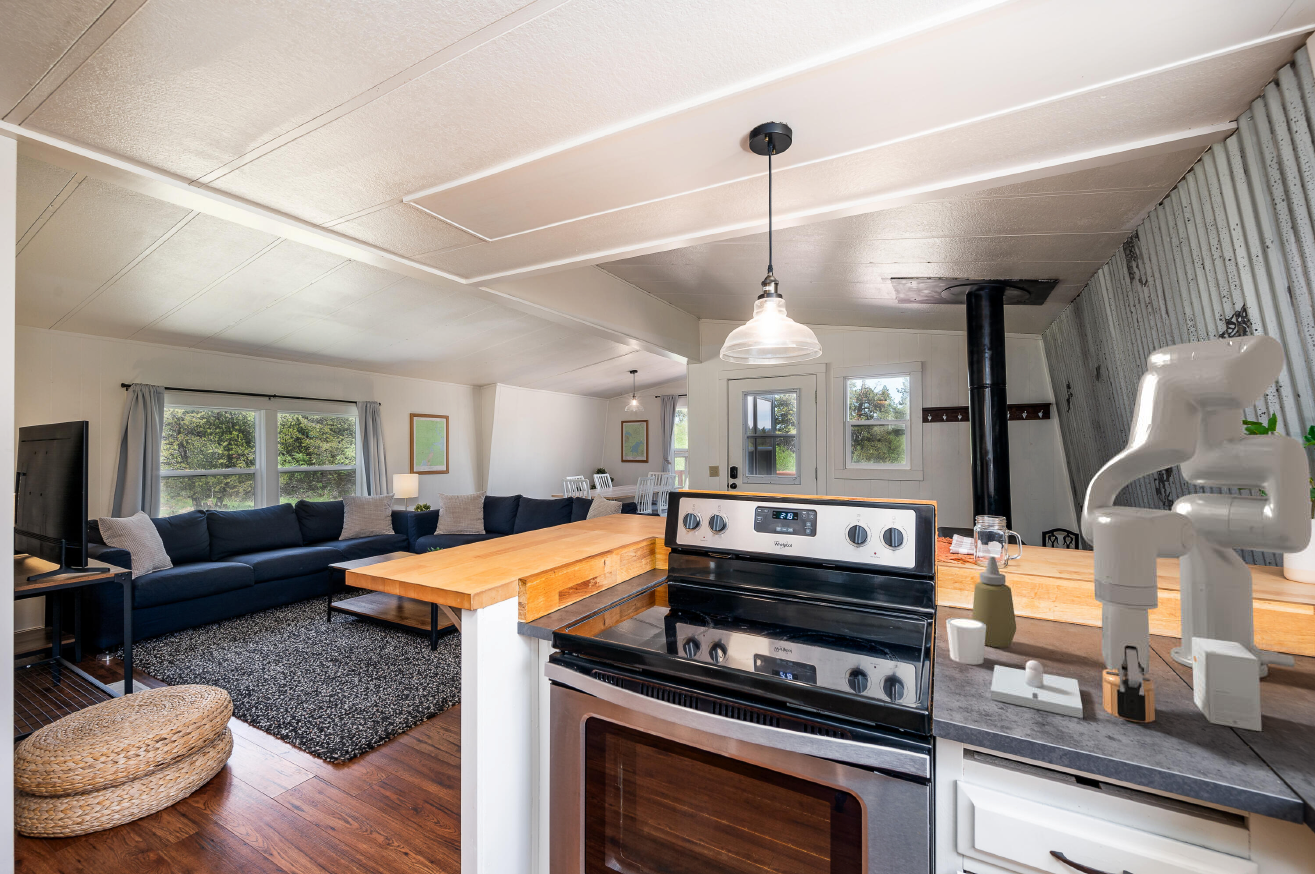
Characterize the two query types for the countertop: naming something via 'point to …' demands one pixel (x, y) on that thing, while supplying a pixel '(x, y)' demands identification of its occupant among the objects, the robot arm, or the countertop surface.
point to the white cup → (966, 640)
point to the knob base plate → (1036, 689)
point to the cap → (1111, 694)
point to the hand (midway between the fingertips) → (1128, 708)
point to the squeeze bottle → (994, 606)
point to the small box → (1226, 683)
